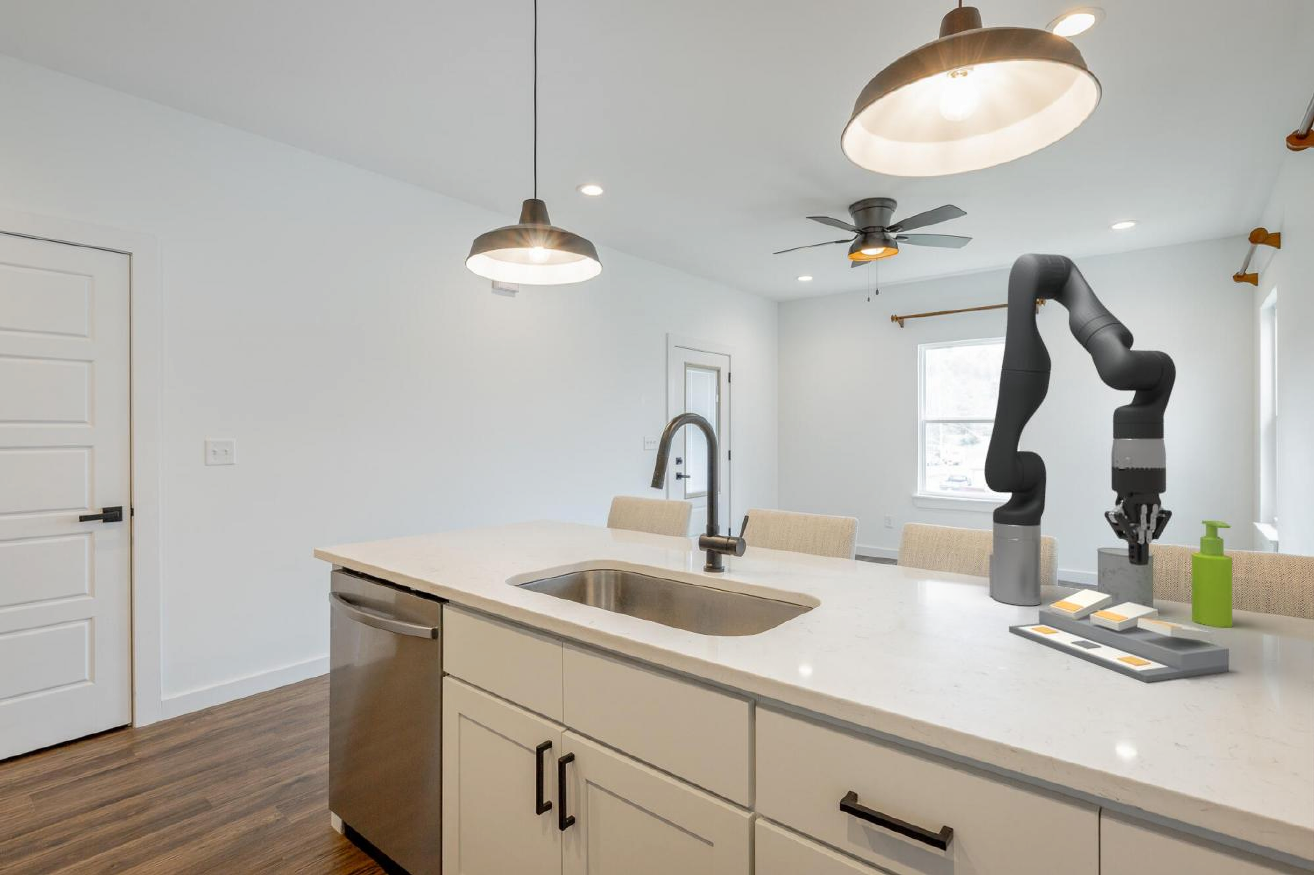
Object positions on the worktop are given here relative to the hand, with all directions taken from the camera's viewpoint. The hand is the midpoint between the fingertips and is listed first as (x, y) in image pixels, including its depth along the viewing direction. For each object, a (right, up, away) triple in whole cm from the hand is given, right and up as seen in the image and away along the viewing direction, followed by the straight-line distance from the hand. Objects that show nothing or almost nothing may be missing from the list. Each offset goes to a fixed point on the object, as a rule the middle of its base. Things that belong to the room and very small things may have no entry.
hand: (1138, 564), depth 108 cm
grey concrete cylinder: (+15, -14, +23) cm, 31 cm away
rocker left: (-5, -9, +7) cm, 13 cm away
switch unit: (-6, -14, -2) cm, 16 cm away
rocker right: (-1, -9, -8) cm, 13 cm away
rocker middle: (-3, -9, -1) cm, 10 cm away
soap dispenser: (+25, -14, +13) cm, 31 cm away
